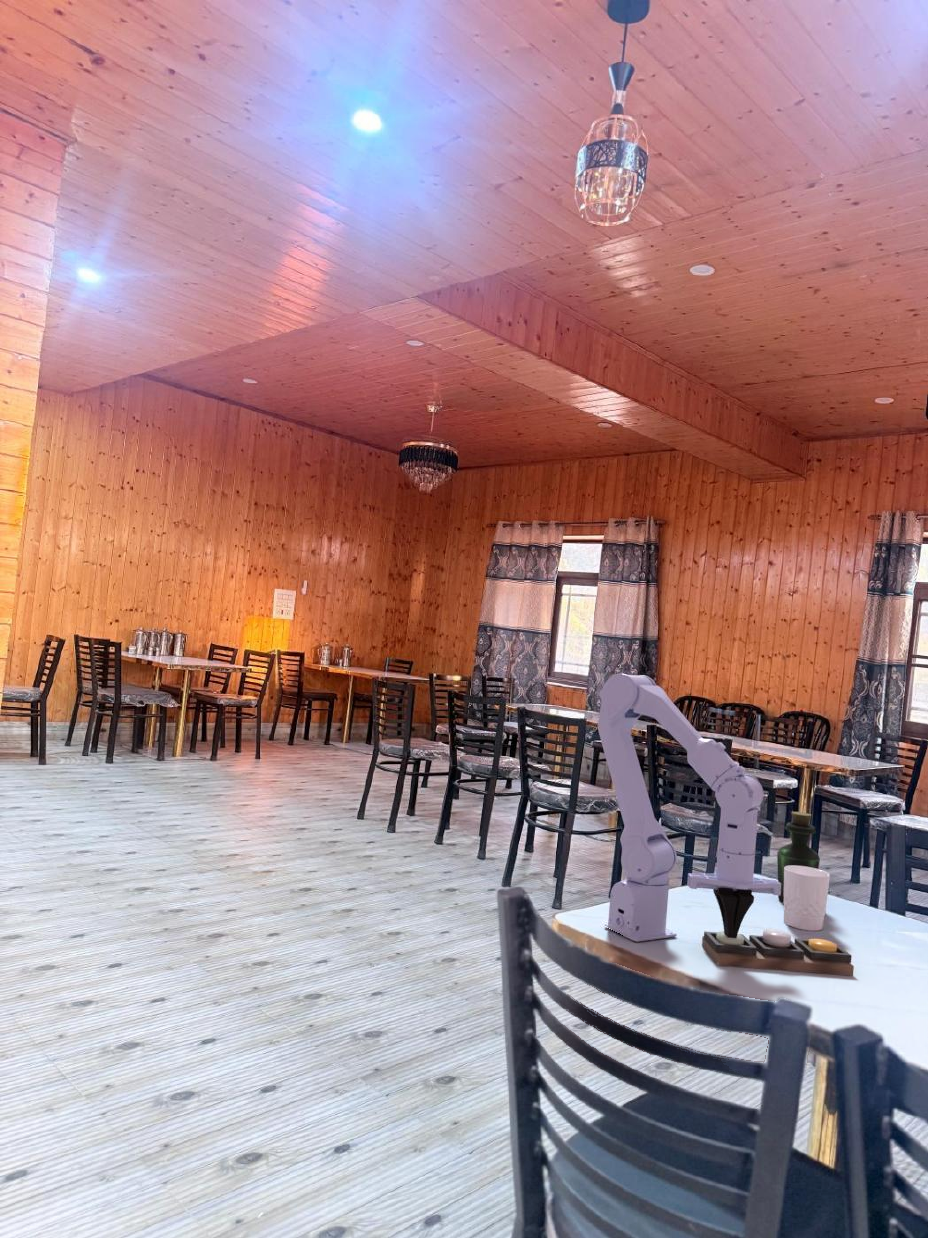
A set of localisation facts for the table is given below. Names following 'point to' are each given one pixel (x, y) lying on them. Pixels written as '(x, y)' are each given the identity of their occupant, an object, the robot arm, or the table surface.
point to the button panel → (778, 956)
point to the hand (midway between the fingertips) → (730, 936)
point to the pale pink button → (776, 938)
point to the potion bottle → (797, 847)
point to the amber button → (822, 945)
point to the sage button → (729, 939)
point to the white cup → (805, 897)
